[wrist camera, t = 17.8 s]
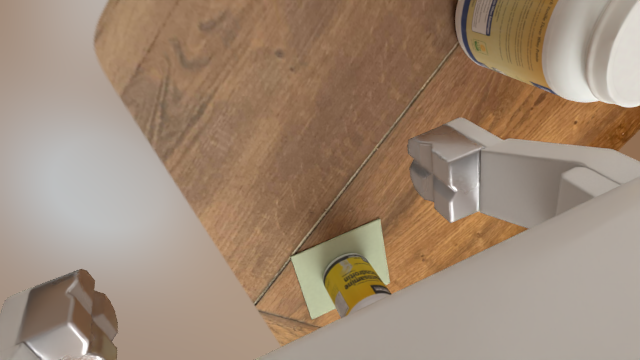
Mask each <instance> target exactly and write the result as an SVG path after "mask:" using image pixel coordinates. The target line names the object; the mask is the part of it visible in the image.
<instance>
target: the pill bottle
mask: <svg viewBox="0 0 640 360" xmlns="http://www.w3.org/2000/svg"><path fill="white" fill-rule="evenodd" d="M323 283H324V286H325V288H326V290H327V292H328V294H329V296H330V298H331V300H332V301H333V303H334V305H335V307H336V309H337V311H338V313H339V315H340V317H341V318H343V317H345V316H347V315H349V314H351V313H353V312H355V311H357V310H359V309H362V308H364V307H366V306H368V305H370V304H372V303H374V302H376V301H378V300H380V299H383V298H385V297H387V296H389V295H391V293H390V291H389V290H388V288H387V287H386V286H385V284H384V283H383V281H382V280H381V279H380V277H379V276H378V274H377V273H376V271H375V270H374V269H373V267H372V266H371V264H370V263H369V262H368V260H367V259H366V258H365V257H364V256H362V255H360V254H357V253H348V254H344V255H341V256H339V257H337V258H336V259H334V260H333V261H332V262H331V263H330V264H329V265H328V267H327V268H326V270H325V272H324V275H323Z"/></svg>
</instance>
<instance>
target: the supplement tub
mask: <svg viewBox="0 0 640 360" xmlns="http://www.w3.org/2000/svg"><path fill="white" fill-rule="evenodd" d="M455 27H456V34H457V38H458V41H459V43H460V45H461V47H462V49H463V51H464V52H465V53H466V55H467V56H468V57H469V58H470V59H471V60H473V61H474V62H475V63H476V64H478V65H480V66H483V67H486V68H489V69H491V70H494V71H496V72H499V73H501V74H504V75H507V76H509V77H512V78H514V79H517V80H520V81H522V82H525V83H527V84H530V85H533V86H535V87H538V88H540V89H543V90H545V91H548V92H551V93H553V94H556V95H558V96H561V97H563V98H565V99H567V100H572V101H577V102H594V101H602V102H605V103H610V104H617V105H620V106H623V107H636V106H639V105H640V0H458V3H457V8H456V14H455Z"/></svg>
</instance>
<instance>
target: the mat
mask: <svg viewBox="0 0 640 360" xmlns="http://www.w3.org/2000/svg"><path fill="white" fill-rule="evenodd" d="M348 253H357V254H360V255H362V256H364V257H365V258H366V259H367V260H368V262H369V263H370V264H371V266H372V267H373V269H374V270H375V271H376V273H377V274H378V276H379V277H380V279H381V280H382V281H383V283H384V284H385V285H387V284H389V283H390V280H389V274H388V267H387V261H386V254H385V248H384V241H383V235H382V228H381V222H380V219H377V220H374V221H372V222H370V223H367V224H365V225H363V226H360V227H358V228H356V229H353V230H351V231H349V232H347V233H344V234H342V235H340V236H337V237H335V238H333V239H330V240H328V241H326V242H323V243H321V244H319V245H316V246H314V247H312V248H309V249H307V250H305V251H303V252H300V253H298V254H296V255H293V256H291V260H292V263H293V266H294V269H295V272H296V275H297V278H298V281H299V283H300V286H301V289H302V292H303V295H304V298H305V301H306V304H307V307H308V310H309V313H310V316H311V319H314V318H316V317H319V316H321V315H323V314H325V313H327V312H329V311H331V310H333V309H336V307H335V305H334V303H333V301H332V300H331V298H330V296H329V294H328V292H327V290H326V288H325V286H324V283H323V275H324V272H325V270H326V268H327V267H328V265H329V264H330V263H331V262H332V261H333V260H334V259H336V258H337V257H339V256H341V255H344V254H348Z"/></svg>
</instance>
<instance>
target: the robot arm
mask: <svg viewBox="0 0 640 360" xmlns="http://www.w3.org/2000/svg"><path fill="white" fill-rule="evenodd" d="M407 147H408V154H409V155H410V156H411V157H413V158H414V160H413V162H412V164H411V166H410V176H411V180H412V183H413V185H414V187H415V189H416V191H417V192H418V193H419V195H420V196H421V197H422V198H424V199H425V200H429V201H433V202H434V206H435V210H437V211H438V212H439V213H440V214H441V215H442V216H443V217H444V218H445V219H447V220H448V221H449V222H450V223H452V222H454V221H456V220H459V219H461V218H464V217H466V216H468V215H471V214H473V213H476V212H478V211H480V213H483V214H486V215H489V216H492V217H495V218H498V219H502V220H505V221H508V222H511V223H514V224H517V225H520V226H523V227H526V228H529V229H528V230H526V231H524V232H522V233H519V234H517V235H515V236H513V237H511V238H509V239H507V240H505V241H503V242H501V243H499V244H497V245H494V246H492V247H490V248H488V249H486V250H484V251H482V252H480V253H478V254H475V255H473V256H471V257H469V258H467V259H465V260H463V261H461V262H459V263H456V264H454V265H452V266H450V267H448V268H446V269H444V270H442V271H440V272H437V273H435V274H433V275H431V276H429V277H427V278H425V279H423V280H421V281H418V282H416V283H414V284H412V285H410V286H408V287H406V288H404V289H402V290H399V291H397V292H395V293H393V294H391V295H389V296H387V297H385V298H383V299H380V300H378V301H376V302H374V303H372V304H370V305H368V306H366V307H364V308H362V309H359V310H357V311H355V312H353V313H351V314H349V315H347V316H345V317H343V318H341V319H339V320H336V321H334V322H332V323H330V324H328V325H326V326H324V327H322V328H320V329H318V330H315V331H313V332H311V333H309V334H307V335H305V336H303V337H301V338H299V339H297V340H295V341H292V342H290V343H288V344H286V345H284V346H282V347H280V348H278V349H276V350H274V351H271V352H269V353H268V354H265V355H263V356H261V357H259V358H257V359H255V360H640V162H639V161H637V160H635V159H632V158H630V157H628V156H626V155H624V154H621V153H619V152H617V151H615V150H613V149H605V148H595V147H586V146H576V145H567V144H557V143H548V142H538V141H529V140H519V139H510V138H509V139H506V140H502V139H500V138H498V137H497V136H495V135H493V134H491V133H490V132H488V131H486V130H484V129H482V128H481V127H479V126H477V125H475V124H473V123H472V122H470V121H468V120H466V119H465V118H457V119H455V120H452V121H450V122H448V123H446V124H443V125H442V126H440V127H437V128H435V129H432V130H430V131H428V132H425V133H423V134H420V135H418V136H416V137H413V138H411V139H409V140H408V145H407ZM94 286H95V280H94V279H93V278H92V276H91V275H90V274H89V273H88V272H87V271H86V270H83V269H80V270H77V271H74V272H72V273H69V274H67V275H64V276H61V277H58V278H56V279H53V280H50V281H48V282H45V283H42V284H40V285H37V286H35V287H33V288H29V289H27V290H24V291H22V292H19V293H17V294H14V295H12V296H10V297H9V298H7V299H6V300H5V302H4V304H3V308H2V310H1V314H0V360H117V348H116V347H115V346H114V344H113V343H112V340H113V339H114V337H115V336H116V334H117V333H118V330H117V328H118V326H117V325H118V324H117V323H118V322H117V318H116V314H115V310H114V308H113V306H112V304H111V302H110V300H109V299H108V298H107V296H106V295H105V294H104V293H100V292H97V291H94Z"/></svg>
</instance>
